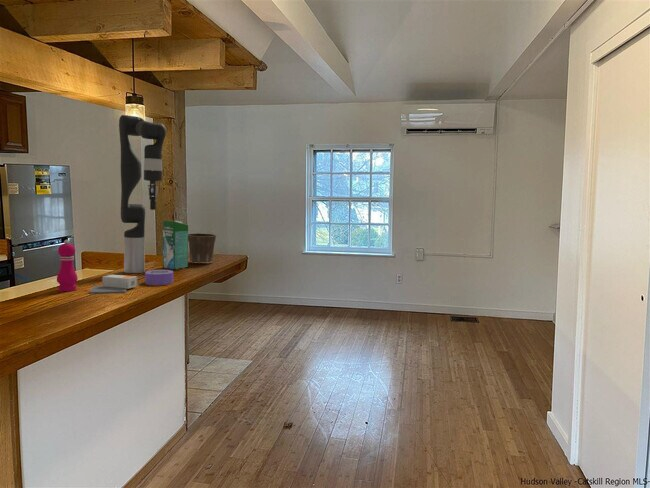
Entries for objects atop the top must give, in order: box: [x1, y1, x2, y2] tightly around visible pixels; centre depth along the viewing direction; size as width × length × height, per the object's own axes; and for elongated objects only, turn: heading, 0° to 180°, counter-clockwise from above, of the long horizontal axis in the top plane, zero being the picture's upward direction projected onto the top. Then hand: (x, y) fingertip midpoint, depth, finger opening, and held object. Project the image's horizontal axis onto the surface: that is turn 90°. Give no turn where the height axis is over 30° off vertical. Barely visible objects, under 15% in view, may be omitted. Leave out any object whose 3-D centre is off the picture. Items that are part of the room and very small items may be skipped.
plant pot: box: [188, 232, 218, 262], centre depth 267 cm, size 16×16×16 cm
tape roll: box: [144, 269, 174, 286], centre depth 207 cm, size 12×12×5 cm
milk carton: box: [162, 219, 189, 270], centre depth 246 cm, size 9×9×25 cm
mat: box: [88, 285, 128, 294], centre depth 189 cm, size 12×13×1 cm
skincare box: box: [101, 274, 138, 290], centre depth 193 cm, size 6×4×12 cm
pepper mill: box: [56, 239, 78, 292], centre depth 185 cm, size 7×7×20 cm
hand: (152, 209), depth 205 cm, fingers closed
